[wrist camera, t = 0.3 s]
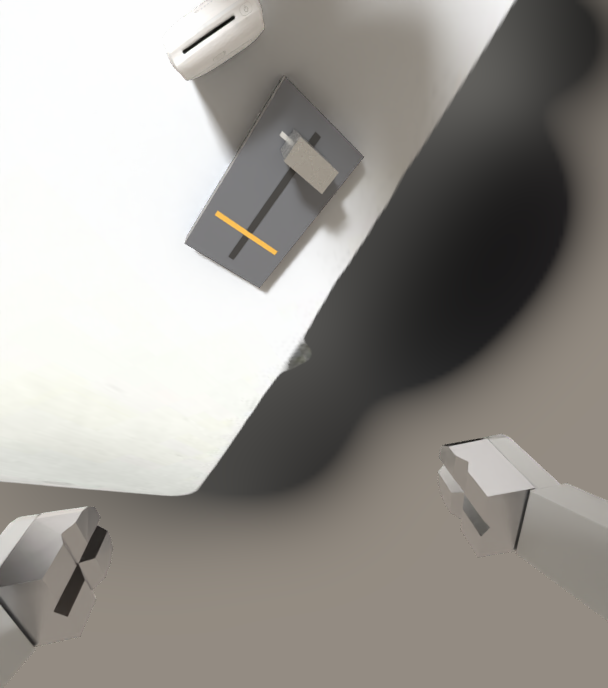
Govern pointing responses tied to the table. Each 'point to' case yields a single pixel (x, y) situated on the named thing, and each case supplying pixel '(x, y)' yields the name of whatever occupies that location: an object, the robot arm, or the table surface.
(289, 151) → the fader
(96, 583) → the robot arm
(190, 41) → the photo printer
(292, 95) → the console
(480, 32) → the table surface
